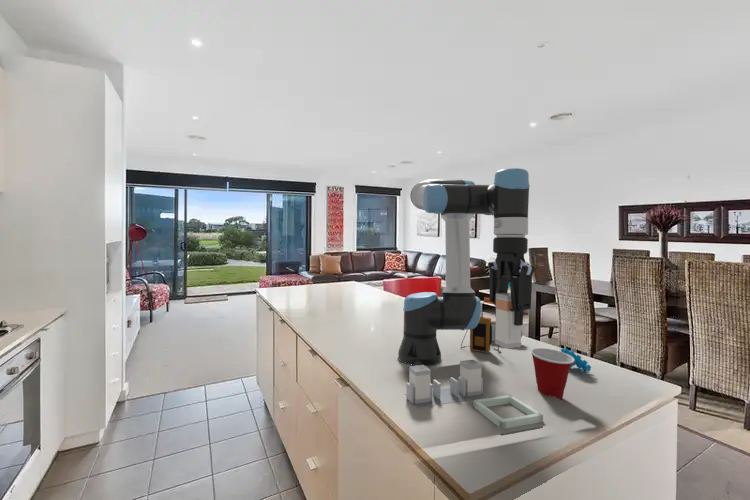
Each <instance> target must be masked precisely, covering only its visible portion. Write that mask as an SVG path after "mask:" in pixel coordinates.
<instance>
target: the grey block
mask: <svg viewBox="0 0 750 500" xmlns="http://www.w3.org/2000/svg"><path fill="white" fill-rule="evenodd" d="M408 371H409V372H408V373H409V375H408V379H409V383H410V384H411V385H412V386H413V387H414V403H415V404H417V403H424V402H430V383H431V376H430V374H431V375H432V373H431V372H432V371H431V369H430V368H428V366H427V365H425V366H424V365H418V366H409V369H408Z"/></svg>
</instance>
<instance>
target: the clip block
mask: <svg viewBox="0 0 750 500" xmlns="http://www.w3.org/2000/svg"><path fill="white" fill-rule="evenodd" d="M449 385H450V386H449V387H447V388H441V387H442V386H441V382H439V381H438V380H437V379H433V380H432V383H431V382H430V402H424V403H417V404H415V403H414V387H413V386H412V385H411V384H410V383H408V382H406V393H404V395H405V397H406V399H407V400H408V401H409V402H410V403H411V404H413V405H414V407H416V408H423V407H424V408H425V407H431V406H437V405H444V404H450V403H451V404H452V403H458V402H464V401H465V402H466V401H473V400H480V399H487V398H488V397H487V396H486V395H484V394H483V393H484V378H483V377H482V376H481V394H480V395H473V396H467V395H466V380H465V379H463V378H462V377H460V375H459V376H457V379H456V378H454V377H450V384H449Z"/></svg>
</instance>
